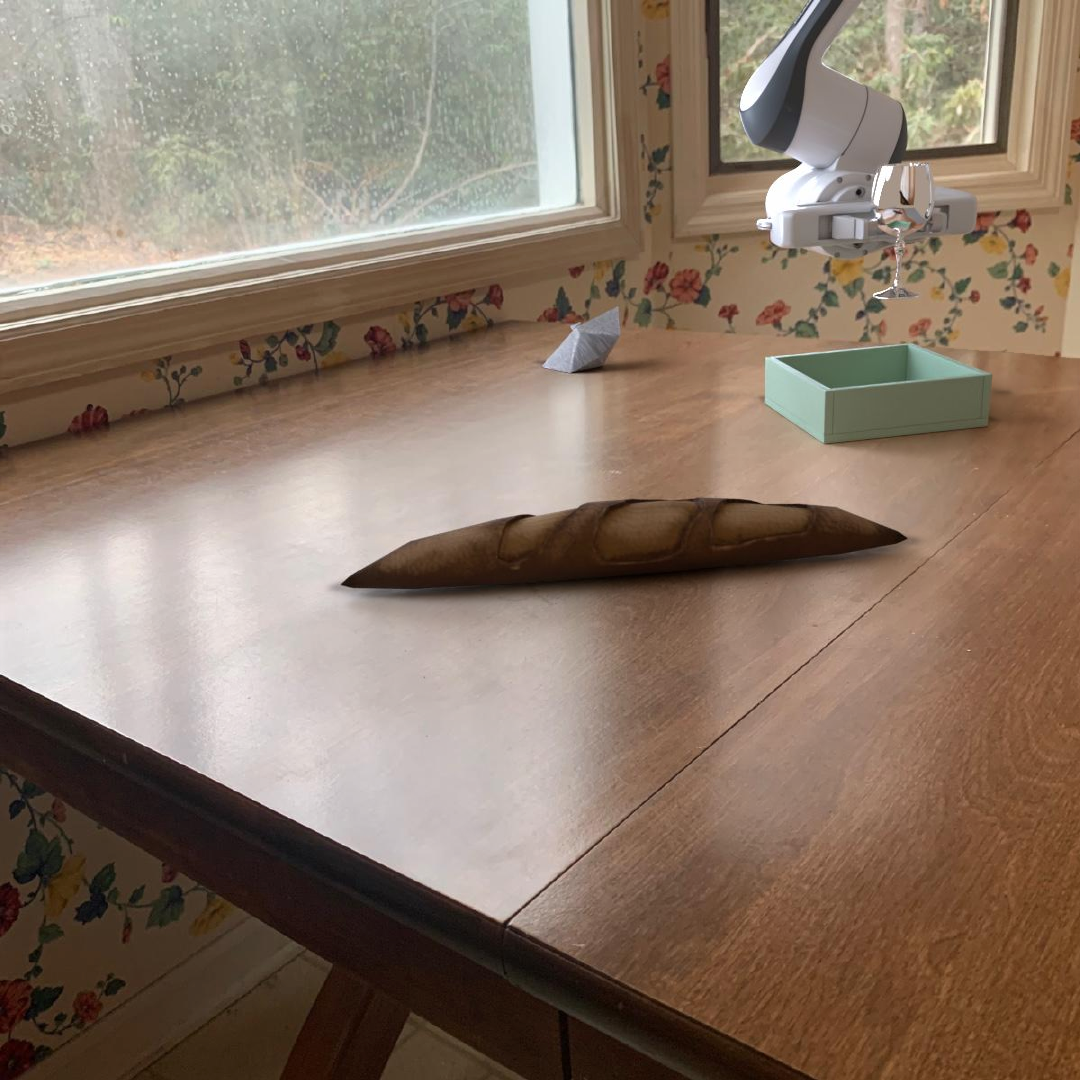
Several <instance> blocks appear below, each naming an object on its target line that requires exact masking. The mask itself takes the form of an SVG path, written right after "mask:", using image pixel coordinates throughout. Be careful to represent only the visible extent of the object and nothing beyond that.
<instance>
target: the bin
mask: <svg viewBox="0 0 1080 1080" xmlns="http://www.w3.org/2000/svg"><path fill="white" fill-rule="evenodd" d="M764 359H765V361H764V370H765V371H764V404H765V405H766V406H768V407H769V408H771V409H772V410H774V411H775V412H776V413H778V414H779V415H781V416H782V417H784V418H785V419H787V420H788V421H790V422H791V423H793V424H794V425H796V426H797V427H798V428H799V429H801V430H803V431H804V432H806V433H807V434H808V435H810V436H811V437H813V438H814V439H816V440H817V441H819V442H820V443H822V444H824V445H827V444H834V443H835V444H836V443H846V442H855V441H863V440H865V441H866V440H873V439H882V438H883V439H884V438H892V437H900V436H910V435H918V434H919V435H920V434H929V433H938V432H947V431H948V432H949V431H956V430H965V429H966V430H967V429H975V428H984V427H985V428H986V427H989V421H990V419H989V418H990V409H991V394H992V383H993V373H990V372H988V371H984V370H982V369H979V368H978V367H975V366H972V365H969V364H967V363H964V362H962V361H959V360H956V359H954V358H951V357H948V356H946V355H943V354H941V353H938V352H936V351H933V350H931V349H928V348H925V347H923V346H920V345H918V344H915V343H912V342H908V343H896V344H890V345H889V344H888V345H886V344H885V345H878V346H877V345H876V346H865V347H856V348H846V349H836V350H826V351H824V350H823V351H815V352H805V353H795V354H786V355H774V356H766V357H765V358H764Z"/></svg>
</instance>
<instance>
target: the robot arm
mask: <svg viewBox="0 0 1080 1080" xmlns="http://www.w3.org/2000/svg"><path fill="white" fill-rule="evenodd" d="M861 3H863V0H807V2H806V3H805V5H804V6H803V8H802V9H801V11H800V12H799V13H798V15H797V16H796V18H794V21H793V22H792V24H791V25H790V26H789V28H788V30H787V31H786V32H785V33H784V35H782V37H781V38H780V40H779V41H778V42H777V44H775V46H774V47H773V49H771V51H770V52H769V53H768V55H767V56H766V57H765V58H764V59H763V61H762V62H761V63H760V65H759V66H758V68H756V70H755V71H754V73H753V74H752V75H751V77H750V78H749V80H748V82H747V84H746V85H745V88H744V90H743V93H742V95H741V97H740V101H739V105H738V113H739V117H740V121H741V124H742V127H743V129H744V131H745V134H746V136H747V138H748V140H749V141H750V142H751V144H752V145H754V146H756V147H760V148H762V149H766V150H769V151H771V152H775V153H777V154H780V155H781V154H783V155H786V156H788V157H790V158H792V159H794V160H797V161H799V162H801V164H800V165H799V166H798V167H796V168H795V169H792V170H791V171H789V172H787V173H785V174H783V175H781V176H780V177H779V178H777V179H776V180H775V181H774V182H773V184H772V185H771V186H770V187H769V190H768V192H767V195H766V198H765V214H766V217H767V218H765V219H758V220H757V222H756V227H757V229H758V230H762V231H770V241H771V243H773V244H774V245H775V246H777V247H779V248H783V249H802V250H806V251H812V252H815V253H817V254H820V255H824V256H827V257H830V258H834V259H838V260H842V261H843V260H844V261H851V260H856V259H860V258H863V257H866V256H867V255H869V254H874V253H876V252H880V251H882V250H885V249H889V248H894V246H895V242H896V240H897V236H895V235H891V234H888V233H886V232H884V231H882V230H880V229H879V228H878V220H877V219H873V218H871V212H870V200H871V192H872V187H873V183H874V179H875V175H876V172H877V169H878V166H879V165H886V164H898V163H903V159H904V157H905V153H906V152H907V147H908V143H909V142H908V141H909V140H908V139H909V138H908V137H909V136H908V134H909V133H908V132H909V131H908V121H907V116H906V112H905V109H904V107H903V105H902V103H901V102H900V101H899V100H897V99H894V98H893V97H891V96H890V95H888V94H885V93H883V92H881V91H879V90H877V89H875V88H873V87H871V86H869V85H867V84H865V83H861V82H859V81H857V80H855V79H853V78H851V77H850V76H847V75H845V74H843V73H841V72H839V71H836V70H834V69H833V68H831V67H829V66H827V65H826V64H824V62H823V58H824V56H825V54H826V52H827V51H828V50H829V48H830V47H831V45H832V44H833V42H834V41H835V40H836V39H837V37H838V36H839V34H840V33H841V31H842V30H843V28H844V27H845V26H846V24H847V23H848V21H849V20H850V19H851V17H852V15H854V13H855V12H856V10H857V9H858V7H859V6H860V5H861ZM934 187H935V205H934V210H933V214H932V216H931V219H930V220H929V222H928V223H927V224H926V225H925V226H924V227H922V228H921V229H919V230H917V231H915V232H913V233H911V234H908V235H905V236H904V237H903V240H904V241H905V245H911V244H916V243H922V242H924V241H926V240H927V239H928V238H933V237H944V236H961V235H968V234H971V233H973V232H974V230H975V228H976V224H977V218H978V199H977V197H976V195H974V194H973V193H971V192H967V191H964V190H961V189H956V188H951V187H947V186H940V185H934Z"/></svg>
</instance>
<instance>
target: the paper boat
mask: <svg viewBox="0 0 1080 1080" xmlns="http://www.w3.org/2000/svg"><path fill="white" fill-rule="evenodd" d="M619 310H620V309H619V306H615V307H614V308H612V309H610V310H607V311H606V312H604V313H601V314H599V315H598V316H596V317H594V318H592V319H590V320H588V321H586V322H584V323H582V321H579V322H577V323H575V324H571V325H569V327H570V329H571V330H572V331H571V332H570V333H569V334H568V335H567V337H566V338H565V339H564V340H563V341H562V342H561V343H560V345H559V346H558V347H557V348H556V349H555V351H554V352H553V353H551V355H550V356H549V357H548V358H547V360H546V361H545V362H544V363H543V364H542V365H541V368H544V369H549V370H554V371H558V372H564V373H568V374H572V373H576V372H582V371H585V370H592V369H595V368H600V367H604V364H605V363H606V361H607V359H608V357H609V356H610V354H611V352H612V351H613V349H614V347H615V346H616V344H617V341H618V340H619V338H620V336H621V323H620V311H619Z"/></svg>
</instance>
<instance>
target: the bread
mask: <svg viewBox="0 0 1080 1080" xmlns="http://www.w3.org/2000/svg"><path fill="white" fill-rule="evenodd" d="M907 540H909V538H908V536H906V535H904V534H903V533H901V532H900V531H898V530H896V529H894V528H891V527H889V526H885V525H883V524H881V523H878V522H876V521H873V520H870V519H868V518H866V517H863V516H861V515H858V514H855V513H853V512H850V511H847V510H845V509H842V508H840V507H837V506H832V505H831V506H830V505H820V504H819V505H818V504H809V503H762V502H758V501H755V500H751V499H743V498H730V497H729V498H728V497H727V498H726V497H701V496H699V497H698V496H697V497H695V498H694V497H693V498H683V499H672V500H670V499H663V498H662V499H659V498H658V499H656V498H655V499H651V498H649V499H648V498H647V499H646V498H643V499H641V498H626V499H625V498H624V499H612V500H602V501H601V500H600V501H588V502H584V503H582V504H580V505H579V506H577V507H575V508H570V509H565V510H559V511H555V512H550V513H544V514H539V515H536V514H529V513H525V514H524V513H523V514H517V515H511V516H505V517H501V518H496V519H491V520H487V521H485V522H484V521H483V522H480V523H476V524H471V525H468V526H464V527H460V528H456V529H452V530H448V531H444V532H440V533H437V534H433V535H432V534H431V535H428V536H424V537H419V538H416V539H413V540H409V541H408V542H406V543H405V544H402V545H400V546H399V547H397V548H396V549H394V550H392V551H390V552H388V553H387V554H385V555H383V556H381V557H380V558H378V559H376V560H374V561H372V562H371V563H370V564H368V565H366V566H364V567H363V568H361V569H359V570H357V571H356V572H353V573H351V574H350V575H349V576H348V577H347V578H345V580H343V581H342V582H341V583H340V586H343V587H347V588H351V589H371V590H372V589H376V590H377V589H379V590H424V589H442V588H459V587H460V588H461V587H477V586H478V587H479V586H496V585H497V586H498V585H511V584H512V585H513V584H524V583H526V584H527V583H538V582H540V583H541V582H542V583H543V582H555V581H568V580H569V581H570V580H584V579H595V578H607V577H610V578H611V577H621V576H631V575H646V574H656V573H668V572H680V571H690V570H701V569H712V568H723V567H732V566H745V565H754V564H763V563H772V562H773V563H774V562H781V561H792V560H800V559H809V558H810V559H811V558H819V557H828V556H838V555H843V554H850V553H853V552H859V551H866V550H872V549H877V548H881V547H882V548H883V547H887V546H892V545H897V544H900V543H902V542H904V541H907Z"/></svg>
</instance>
